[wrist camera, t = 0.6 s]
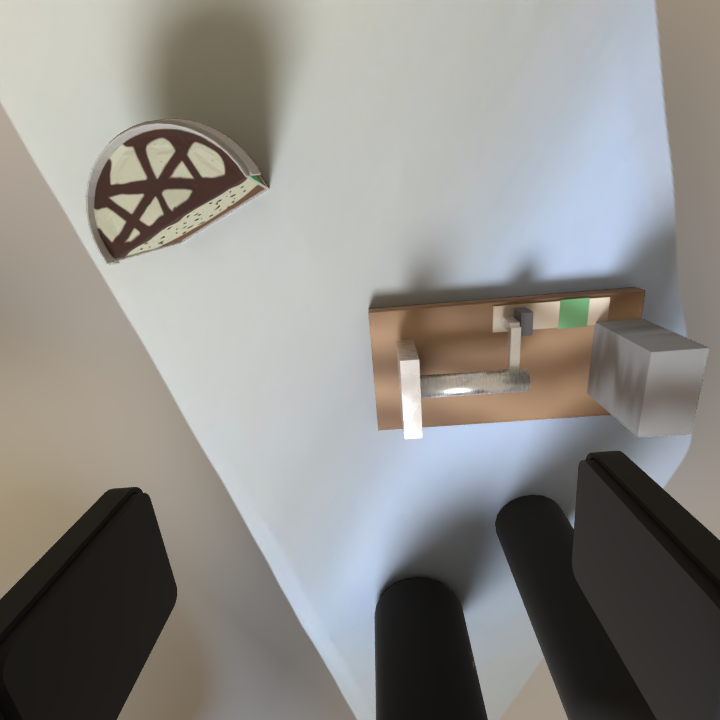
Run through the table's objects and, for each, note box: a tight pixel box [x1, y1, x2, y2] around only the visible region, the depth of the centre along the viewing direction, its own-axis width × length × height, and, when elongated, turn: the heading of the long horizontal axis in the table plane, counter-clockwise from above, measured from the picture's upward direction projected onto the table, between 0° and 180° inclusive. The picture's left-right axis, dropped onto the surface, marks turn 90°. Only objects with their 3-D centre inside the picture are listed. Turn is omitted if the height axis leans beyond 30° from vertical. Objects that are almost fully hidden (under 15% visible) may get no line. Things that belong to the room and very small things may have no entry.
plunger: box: [396, 316, 530, 439], centre depth 36 cm, size 8×11×5 cm
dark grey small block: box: [514, 307, 534, 336], centre depth 36 cm, size 2×1×2 cm, turn 5°
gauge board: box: [369, 287, 709, 438], centre depth 36 cm, size 12×24×10 cm, turn 95°
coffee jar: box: [375, 577, 488, 720], centre depth 44 cm, size 11×11×18 cm
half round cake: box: [86, 119, 269, 265], centre depth 31 cm, size 12×6×10 cm, turn 119°
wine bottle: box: [495, 495, 657, 720], centre depth 33 cm, size 8×8×30 cm
